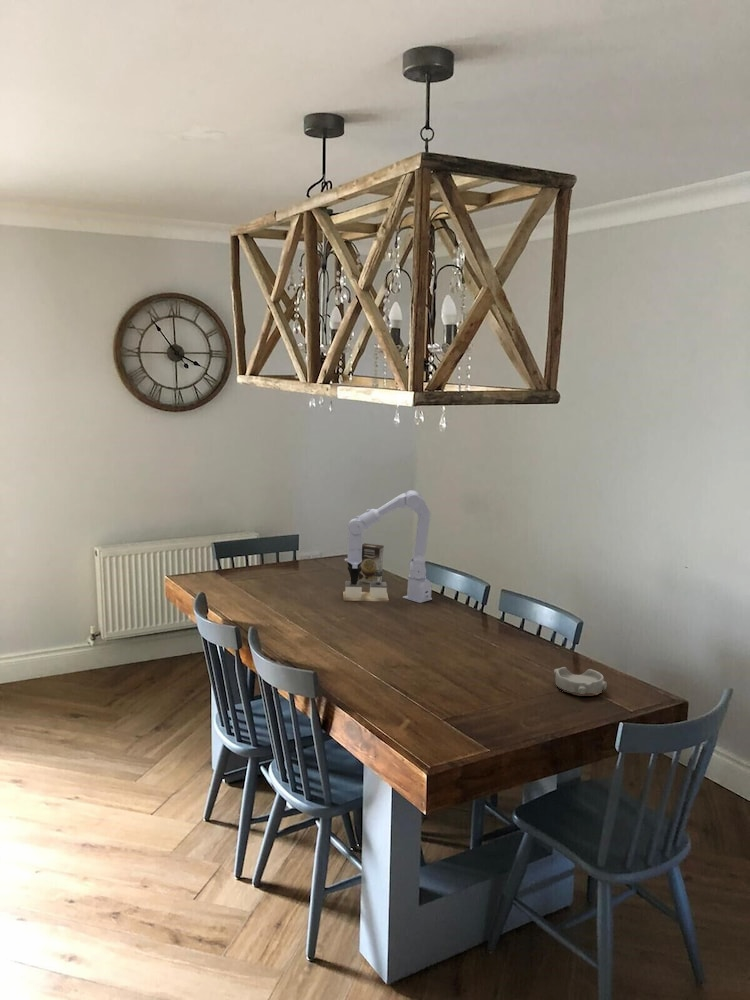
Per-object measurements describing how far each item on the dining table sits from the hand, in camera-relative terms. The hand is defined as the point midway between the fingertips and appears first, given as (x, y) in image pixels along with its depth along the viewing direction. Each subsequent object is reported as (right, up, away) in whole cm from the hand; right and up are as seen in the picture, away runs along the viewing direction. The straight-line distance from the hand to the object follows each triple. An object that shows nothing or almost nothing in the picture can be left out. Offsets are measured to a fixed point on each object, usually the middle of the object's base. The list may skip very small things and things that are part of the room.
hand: (353, 581), depth 327 cm
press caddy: (+5, -7, +1) cm, 8 cm away
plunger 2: (+10, -2, +1) cm, 10 cm away
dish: (+70, -24, -85) cm, 113 cm away
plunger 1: (0, -4, +1) cm, 4 cm away
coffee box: (+6, -3, +26) cm, 27 cm away
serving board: (+5, -7, +1) cm, 8 cm away
